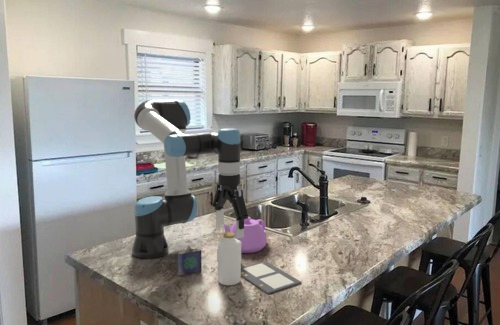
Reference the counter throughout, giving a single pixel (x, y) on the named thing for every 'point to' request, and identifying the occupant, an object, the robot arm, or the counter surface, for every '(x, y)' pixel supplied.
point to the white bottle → (229, 260)
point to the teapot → (250, 235)
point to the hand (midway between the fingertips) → (229, 232)
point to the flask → (189, 262)
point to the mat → (268, 277)
